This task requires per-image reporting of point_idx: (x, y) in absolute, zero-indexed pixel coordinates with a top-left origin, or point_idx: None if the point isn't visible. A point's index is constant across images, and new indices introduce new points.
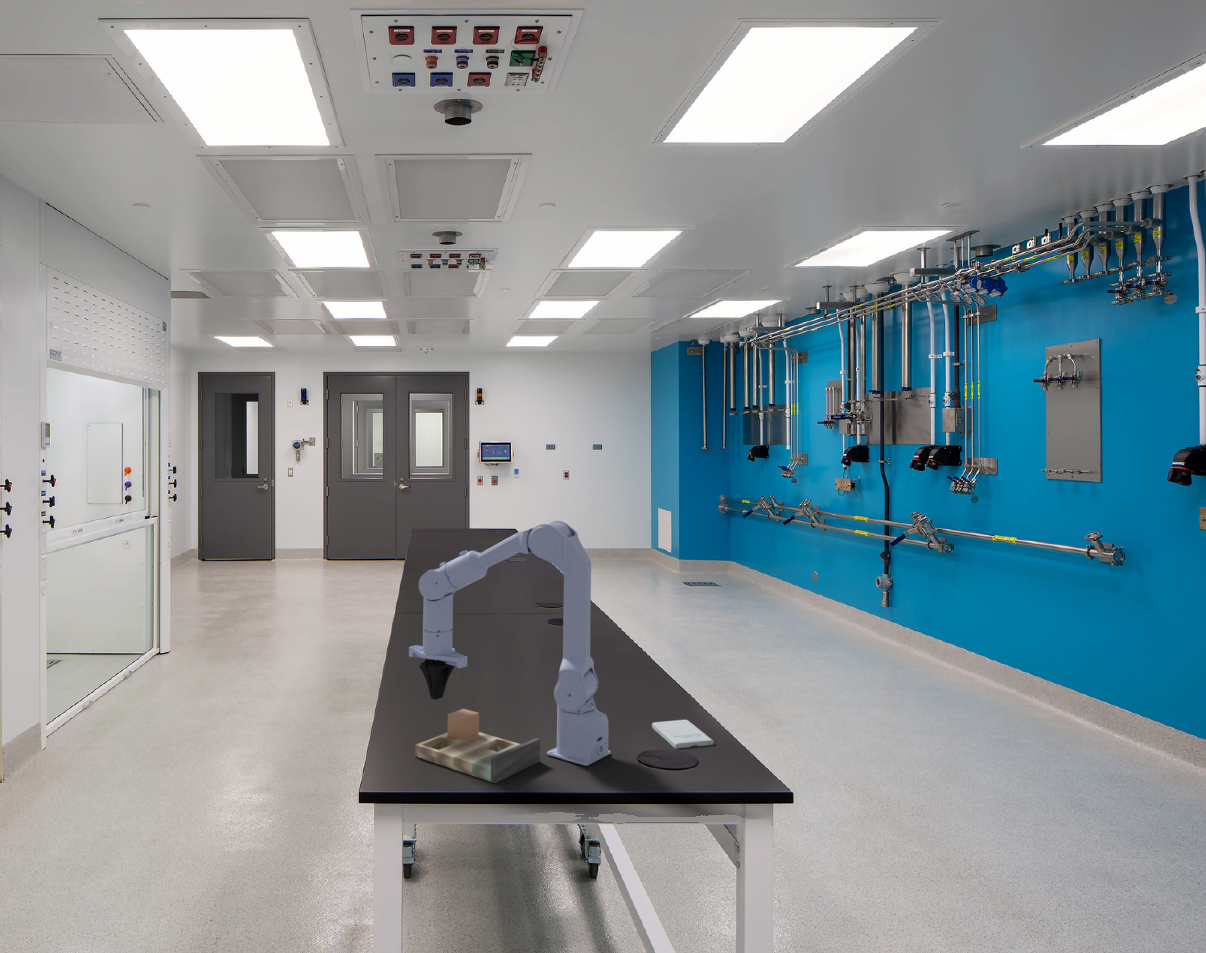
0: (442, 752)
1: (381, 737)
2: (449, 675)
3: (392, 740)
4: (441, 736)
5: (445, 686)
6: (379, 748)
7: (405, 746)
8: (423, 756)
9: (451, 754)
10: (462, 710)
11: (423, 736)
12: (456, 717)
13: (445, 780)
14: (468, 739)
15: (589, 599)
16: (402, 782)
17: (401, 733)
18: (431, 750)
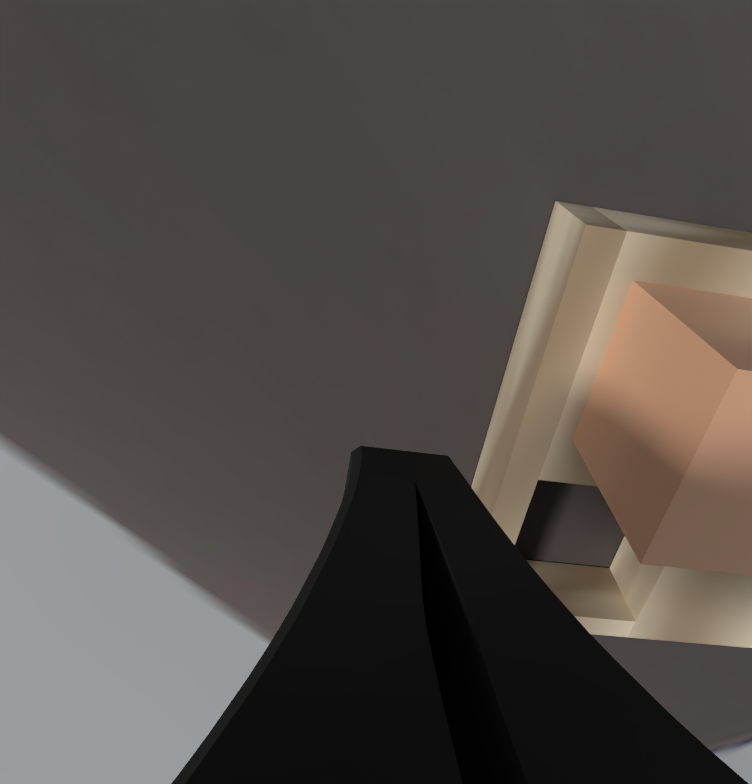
0: (675, 633)
1: (29, 453)
2: (704, 753)
3: (136, 459)
4: (534, 465)
5: (519, 554)
6: (183, 570)
7: (289, 492)
8: None
9: (739, 633)
10: (748, 421)
11: (256, 309)
12: (750, 569)
13: (736, 675)
14: None
15: None
16: None
17: (67, 337)
18: (594, 633)
